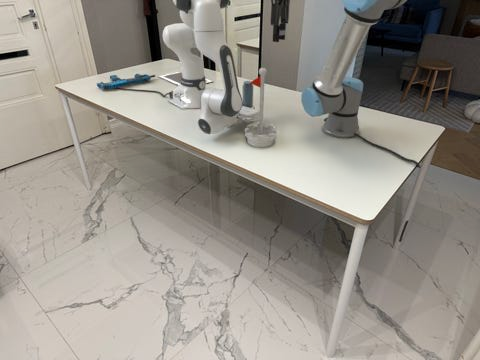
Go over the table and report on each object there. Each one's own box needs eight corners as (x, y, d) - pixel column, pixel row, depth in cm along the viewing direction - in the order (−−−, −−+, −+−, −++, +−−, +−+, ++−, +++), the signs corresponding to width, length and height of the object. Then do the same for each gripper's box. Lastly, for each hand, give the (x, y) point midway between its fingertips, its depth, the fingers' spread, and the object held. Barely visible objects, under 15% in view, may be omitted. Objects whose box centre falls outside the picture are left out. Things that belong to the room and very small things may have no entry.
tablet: (158, 76, 219) (158, 76, 218) (184, 71, 230) (184, 70, 229) (185, 88, 198) (185, 88, 198) (213, 81, 209) (213, 81, 209)
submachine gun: (141, 68, 225) (159, 74, 208) (142, 74, 227) (160, 80, 210) (89, 78, 206) (104, 86, 190) (91, 84, 208) (106, 92, 192)
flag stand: (267, 132, 148) (271, 61, 132) (281, 144, 138) (286, 70, 122) (240, 137, 144) (240, 65, 128) (252, 150, 134) (253, 74, 118)
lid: (276, 35, 145) (277, 31, 144) (270, 33, 149) (271, 29, 148) (287, 34, 147) (287, 30, 146) (281, 32, 151) (281, 28, 150)
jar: (240, 121, 159) (240, 82, 149) (245, 117, 162) (245, 79, 153) (249, 123, 157) (250, 84, 147) (254, 119, 161) (255, 81, 151)
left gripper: (248, 114, 140) (267, 104, 149) (212, 103, 151) (232, 94, 160) (247, 128, 144) (266, 118, 153) (212, 116, 155) (232, 107, 164)
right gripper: (283, -22, 145) (280, 36, 158) (263, -20, 132) (261, 43, 145) (299, -22, 142) (295, 38, 154) (280, -20, 129) (277, 45, 141)
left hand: (248, 106), depth 157 cm, fingers closed on jar, 5 cm apart
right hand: (278, 40), depth 149 cm, fingers closed on lid, 5 cm apart
